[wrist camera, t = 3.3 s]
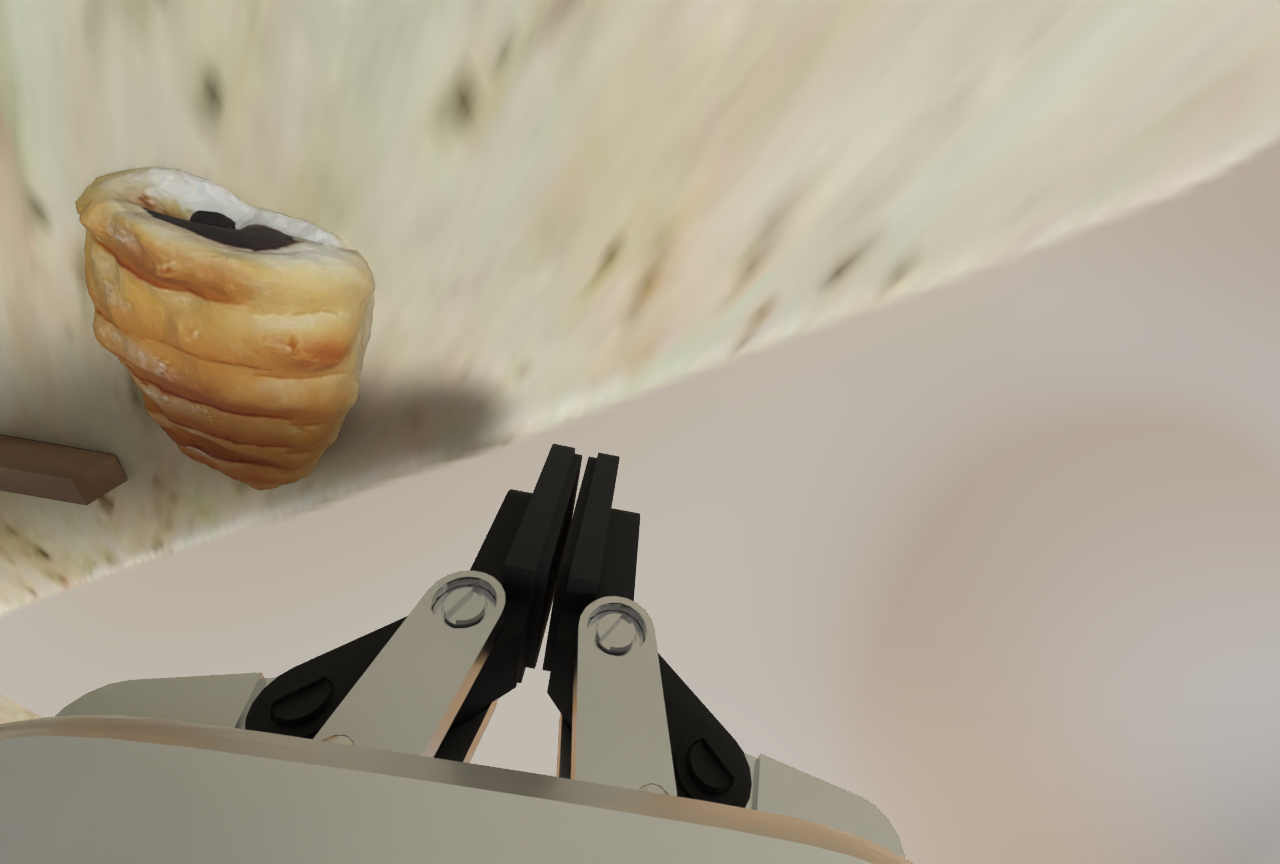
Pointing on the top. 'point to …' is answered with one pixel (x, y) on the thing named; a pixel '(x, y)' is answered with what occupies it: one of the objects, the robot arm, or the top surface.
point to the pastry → (227, 319)
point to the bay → (56, 471)
